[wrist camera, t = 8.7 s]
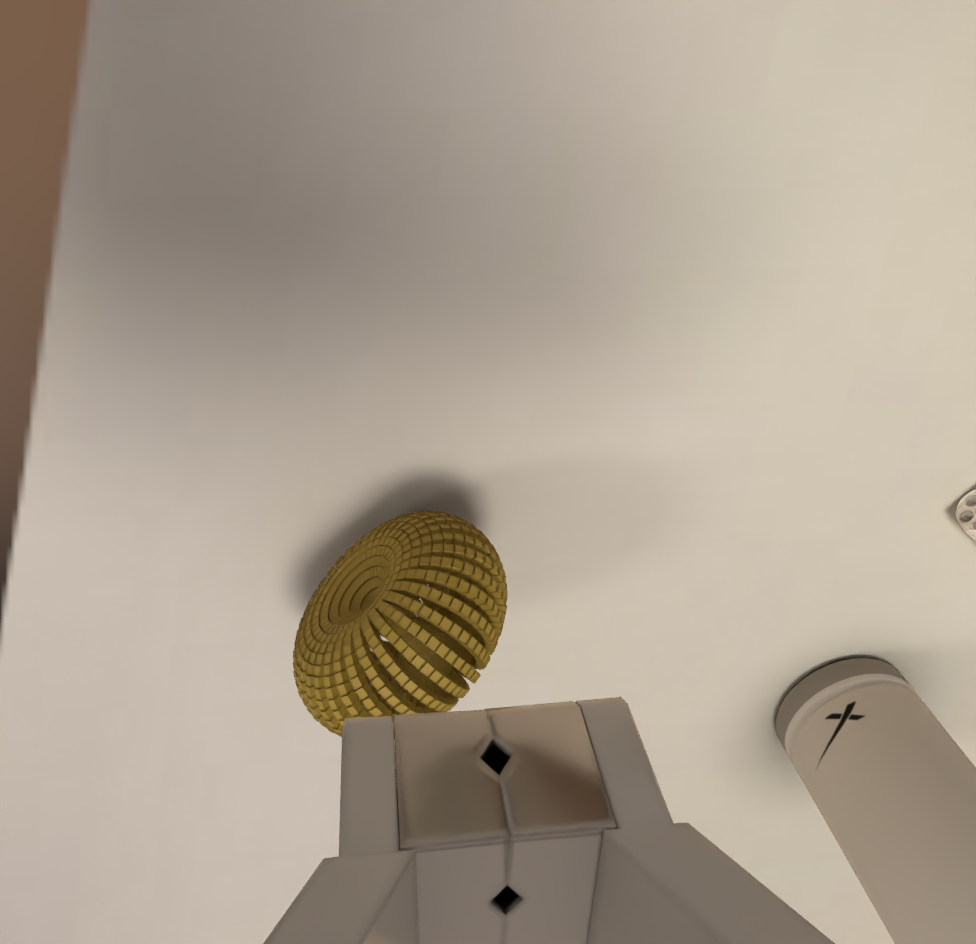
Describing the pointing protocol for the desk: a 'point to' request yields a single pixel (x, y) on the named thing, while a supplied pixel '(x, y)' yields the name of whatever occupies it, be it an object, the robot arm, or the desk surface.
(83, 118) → the desk surface
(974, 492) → the white rod
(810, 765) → the travel mug
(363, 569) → the sculpture
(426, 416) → the desk surface
